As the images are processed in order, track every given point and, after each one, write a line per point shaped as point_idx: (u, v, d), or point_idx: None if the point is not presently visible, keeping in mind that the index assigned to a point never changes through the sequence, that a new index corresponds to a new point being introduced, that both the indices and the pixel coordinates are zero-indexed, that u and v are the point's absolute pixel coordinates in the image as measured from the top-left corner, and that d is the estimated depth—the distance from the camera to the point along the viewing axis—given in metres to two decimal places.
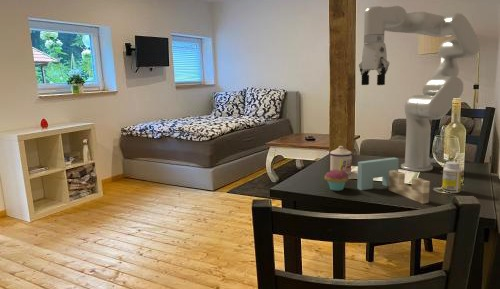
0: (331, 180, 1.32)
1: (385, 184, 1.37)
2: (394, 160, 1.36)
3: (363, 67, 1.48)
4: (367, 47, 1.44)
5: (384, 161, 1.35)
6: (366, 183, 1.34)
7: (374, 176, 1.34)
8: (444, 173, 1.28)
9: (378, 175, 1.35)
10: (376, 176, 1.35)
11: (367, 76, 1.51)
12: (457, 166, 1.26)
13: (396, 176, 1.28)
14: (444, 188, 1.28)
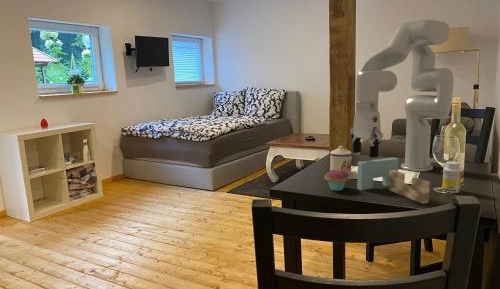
0: (331, 180, 1.32)
1: (385, 184, 1.37)
2: (394, 160, 1.36)
3: (355, 134, 1.34)
4: (359, 114, 1.30)
5: (384, 161, 1.35)
6: (366, 183, 1.34)
7: (374, 176, 1.34)
8: (444, 173, 1.28)
9: (378, 175, 1.35)
10: (376, 176, 1.35)
11: (359, 143, 1.36)
12: (457, 166, 1.26)
13: (396, 176, 1.28)
14: (444, 188, 1.28)
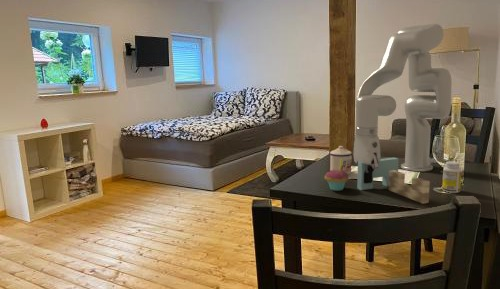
0: (331, 180, 1.32)
1: (385, 184, 1.37)
2: (394, 160, 1.36)
3: (355, 158, 1.36)
4: (359, 139, 1.32)
5: (384, 161, 1.35)
6: (366, 183, 1.34)
7: (374, 176, 1.34)
8: (444, 173, 1.28)
9: (378, 175, 1.35)
10: (376, 176, 1.35)
11: None
12: (457, 166, 1.26)
13: (396, 176, 1.28)
14: (444, 188, 1.28)
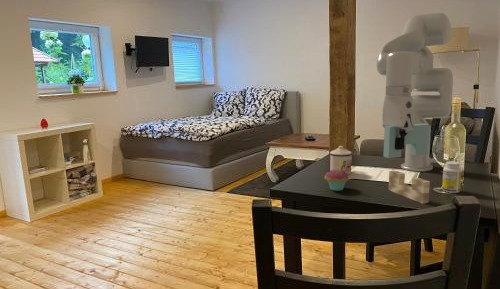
0: (331, 180, 1.32)
1: (414, 153, 1.23)
2: (425, 126, 1.22)
3: (384, 122, 1.22)
4: (389, 100, 1.18)
5: (414, 126, 1.20)
6: (394, 150, 1.19)
7: None
8: (444, 173, 1.28)
9: (407, 142, 1.20)
10: (405, 143, 1.20)
11: None
12: (457, 166, 1.26)
13: (396, 176, 1.28)
14: (444, 188, 1.28)
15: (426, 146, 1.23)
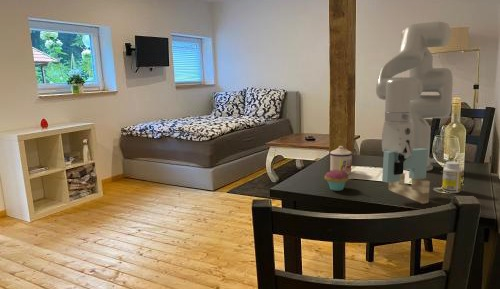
0: (331, 180, 1.32)
1: (413, 177, 1.24)
2: (423, 151, 1.23)
3: (383, 147, 1.23)
4: (389, 125, 1.19)
5: (413, 151, 1.22)
6: (392, 175, 1.21)
7: None
8: (444, 173, 1.28)
9: (406, 167, 1.22)
10: (403, 168, 1.22)
11: None
12: (457, 166, 1.26)
13: None
14: (444, 188, 1.28)
15: (424, 170, 1.25)
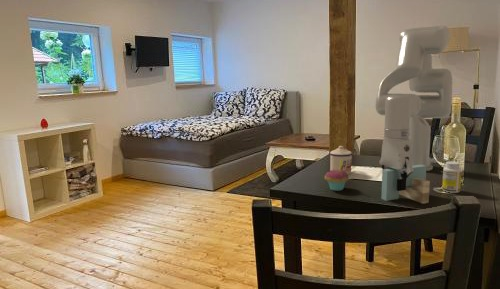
0: (331, 180, 1.32)
1: None
2: (422, 168, 1.24)
3: (383, 162, 1.24)
4: (388, 142, 1.20)
5: None
6: (391, 193, 1.22)
7: None
8: (444, 173, 1.28)
9: None
10: None
11: None
12: (457, 166, 1.26)
13: None
14: (444, 188, 1.28)
15: None
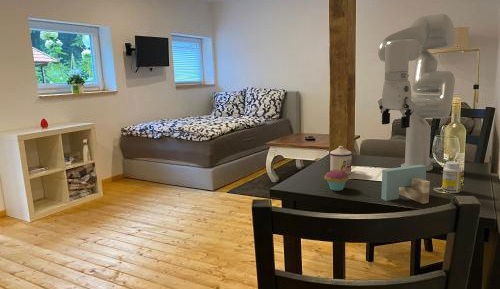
0: (331, 180, 1.32)
1: None
2: (422, 168, 1.24)
3: (384, 105, 1.32)
4: (388, 84, 1.28)
5: (411, 169, 1.23)
6: (391, 193, 1.22)
7: (400, 185, 1.22)
8: (444, 173, 1.28)
9: (404, 184, 1.23)
10: (402, 185, 1.23)
11: (388, 114, 1.35)
12: (457, 166, 1.26)
13: None
14: (444, 188, 1.28)
15: None
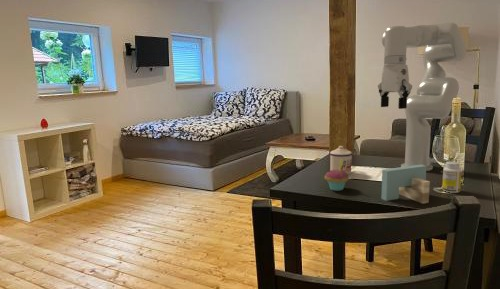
0: (331, 180, 1.32)
1: None
2: (422, 168, 1.24)
3: (383, 89, 1.41)
4: (387, 68, 1.37)
5: (411, 169, 1.23)
6: (391, 193, 1.22)
7: (400, 185, 1.22)
8: (444, 173, 1.28)
9: (404, 184, 1.23)
10: (402, 185, 1.23)
11: (387, 98, 1.44)
12: (457, 166, 1.26)
13: None
14: (444, 188, 1.28)
15: None
